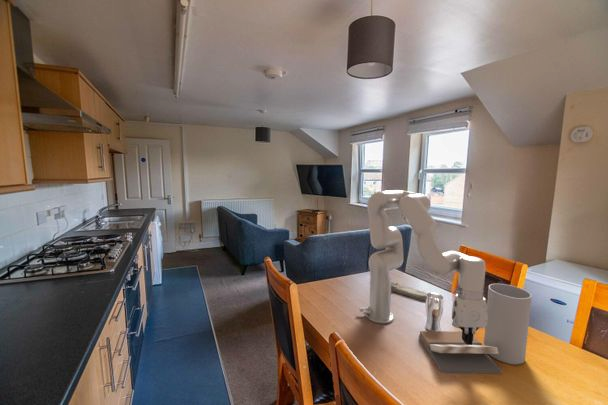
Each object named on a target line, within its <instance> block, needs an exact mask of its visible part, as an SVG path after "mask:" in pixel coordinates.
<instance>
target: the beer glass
mask: <svg viewBox="0 0 608 405" xmlns="http://www.w3.org/2000/svg"><path fill="white" fill-rule="evenodd" d="M426 293H427V296H426V301H425V313H426V323H425V329H427V330H426V331H442V329H441V328H442V327H441V319H442V316H443V312H444V296H443V295H441V294H440V293H437V292H426Z"/></svg>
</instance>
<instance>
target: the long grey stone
mask: <svg viewBox="0 0 608 405" xmlns="http://www.w3.org/2000/svg"><path fill="white" fill-rule="evenodd" d="M392 292H394V293H398V294H401V295H403V296H407V297H409V298H412V299H416V300H419V301H424V302H426V296H427V293H428V292H425V291H422V290H419V289H416V288H413V287H410V286H406V285H404V284H401V283H399V282H397V281H393V280H391V293H392Z"/></svg>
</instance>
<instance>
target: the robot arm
mask: <svg viewBox="0 0 608 405" xmlns="http://www.w3.org/2000/svg"><path fill="white" fill-rule="evenodd" d="M366 205H367V206H366V207H367V208H366V209H367V214H368V220H369V221H368V222H369V236H370V238H369V239H370V243H371V246H372V247H373V248H374V249H377V250H380V251H376V252H374V253H372V254H371V255H370V256H369V258H368V267H369V274H370V275H369V276H370V277H369V280H370V282H369V304H367V306H365V307H362V306H359V312H361V313H363V314H364V315H365V316H366V318H367V319H368V321H370V322H373V323H375V324H378V325H379V324H380V325H386V324H390V323H392V322H393V321H394V314H393V312H391V301H392V291H391V281H392V278H391V276H390V272H391V271H393V270H396V269H399V268H400V267H401V266H402V265H403V263H404V243H403V237H402V233H401V231H400V230H399V228H397V227H396V226H393V225H391V226H390V225H389V216H388V214H387V212H386V211H387V210H396V209H399V210H400V212H401V213H402V215H403V217H404V218H405V219H406V221H407V222H408V224H409V226H410V227H411V228H412V230H413V231H414V233H415V235H416V244H417V250H418V252H419V254H420V256H421V258H422V260H423V261H424V263H425V264H426V266H427V267H428V268H429V270H430V271H431V272H433V273H434V274H435V275H437V276H440V277H443V276H444V277H445V276H449V275H451V274H453V273H458V282H457V288H456V289H455V288H454V289H453V290H454V294H455V296H454V299H453V304H452V308H451V309H452V311H451V319H452V322H451V326H453V327H454V328H455V329H456V328H457V329H460V330H461V332H462V340H463V341H464V342H465V343H466V344H467V345H472V341H473V336H474V335H475V334H476V333H477V331H478V330H479V329H482V328H485V327H486V326H487V323H488V311H487V299H486V298H485V297H484V295H485V294H484V292H485V290H484V289H485V280H486V278H485V277H486V261H485V260H484V259H482V258H480V257H478V256H472V255H467V254H464V253H462V252H460V251H456V250H448V251H444V252H442V251H441V250H440V248H439V247H438V246H437V244H436V241H435V239H434V234H435V231H436V228H437V222H436V221H435V219H434V217H432V216H431V214H430V212H429V210H430V208H431V200H430V199H429V197H428V196H427V195H425V194H423V193H419V192H418V193H417V192H412V191H407V190H401V189H393V190H392V189H390V190H380V191H376V192H375V193H373V194H372V195H371V196H370V197H369V198H368V200H367V204H366ZM382 249H384V250H382Z"/></svg>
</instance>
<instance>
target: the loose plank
mask: <svg viewBox="0 0 608 405" xmlns="http://www.w3.org/2000/svg"><path fill="white" fill-rule="evenodd" d="M430 350H431V351H435V352H439V353H480V354H487V355H489V354H499V353H498V349H497V347H493V346H486V345H484V344H482V345H444V344H430Z"/></svg>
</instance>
